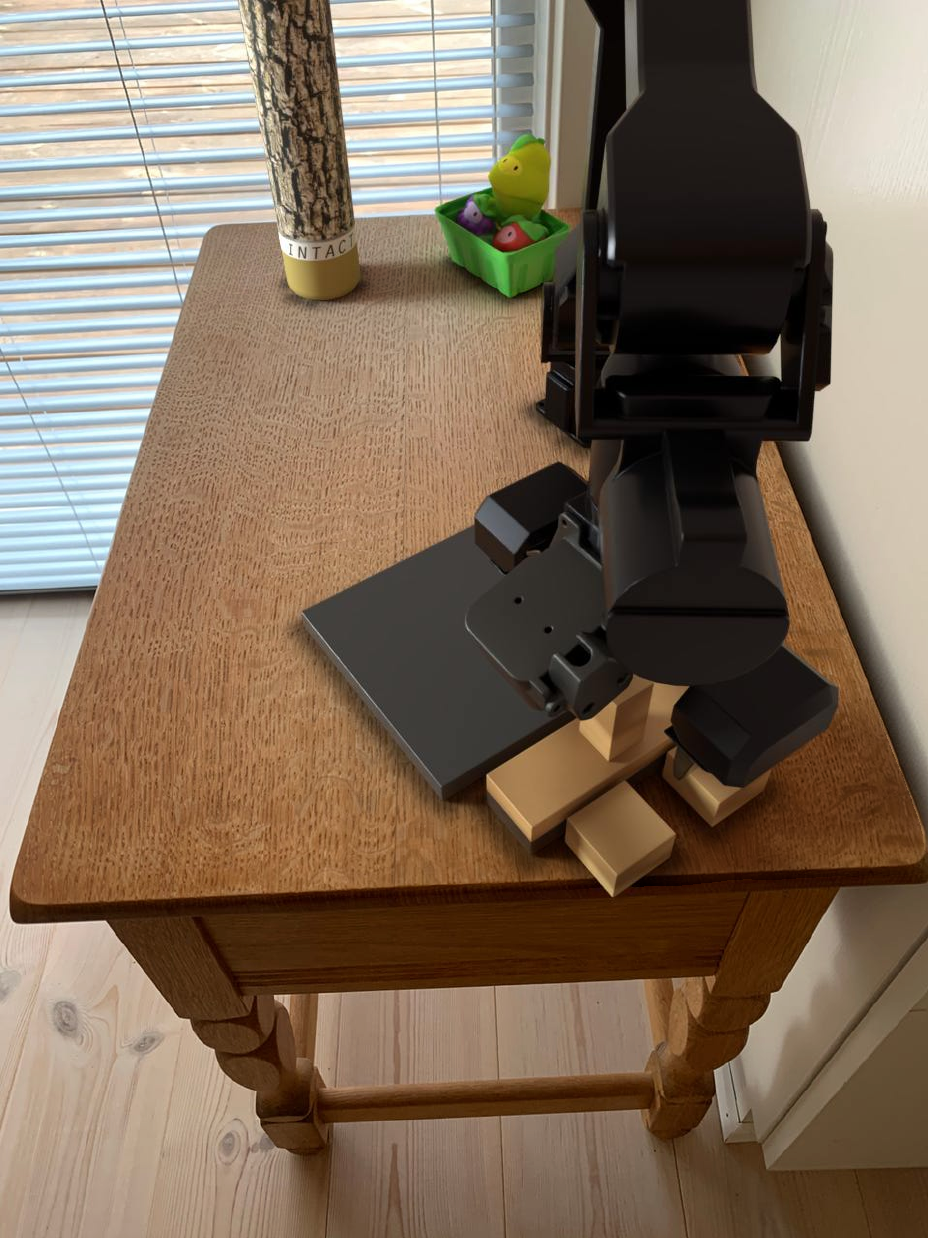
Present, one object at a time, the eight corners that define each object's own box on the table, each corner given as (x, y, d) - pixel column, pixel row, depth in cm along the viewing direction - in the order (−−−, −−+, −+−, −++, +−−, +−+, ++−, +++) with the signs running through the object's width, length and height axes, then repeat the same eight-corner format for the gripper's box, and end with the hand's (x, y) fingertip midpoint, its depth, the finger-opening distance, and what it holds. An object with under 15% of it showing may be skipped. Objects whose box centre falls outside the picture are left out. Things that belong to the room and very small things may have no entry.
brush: (673, 684, 60) (692, 595, 54) (720, 728, 58) (746, 640, 52) (486, 803, 55) (484, 719, 49) (530, 856, 52) (534, 775, 46)
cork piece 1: (620, 803, 54) (625, 779, 53) (670, 857, 52) (676, 834, 50) (564, 841, 53) (566, 818, 51) (612, 898, 51) (617, 876, 49)
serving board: (525, 513, 70) (526, 497, 69) (681, 654, 61) (685, 638, 60) (303, 626, 64) (300, 611, 63) (442, 802, 55) (441, 787, 54)
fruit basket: (432, 259, 94) (425, 137, 85) (505, 230, 97) (506, 110, 89) (506, 309, 88) (507, 184, 79) (582, 276, 91) (590, 152, 83)
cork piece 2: (713, 741, 57) (720, 716, 55) (764, 790, 55) (773, 765, 53) (661, 776, 56) (667, 751, 54) (711, 827, 53) (719, 804, 51)
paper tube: (282, 272, 93) (227, -34, 74) (352, 259, 94) (316, -45, 75) (295, 309, 89) (241, -6, 70) (369, 295, 90) (335, -18, 71)
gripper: (369, 446, 42) (397, 671, 54) (668, 739, 32) (622, 939, 44) (571, 355, 46) (557, 583, 58) (896, 590, 36) (798, 810, 48)
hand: (622, 713), depth 52 cm, fingers open, 9 cm apart
